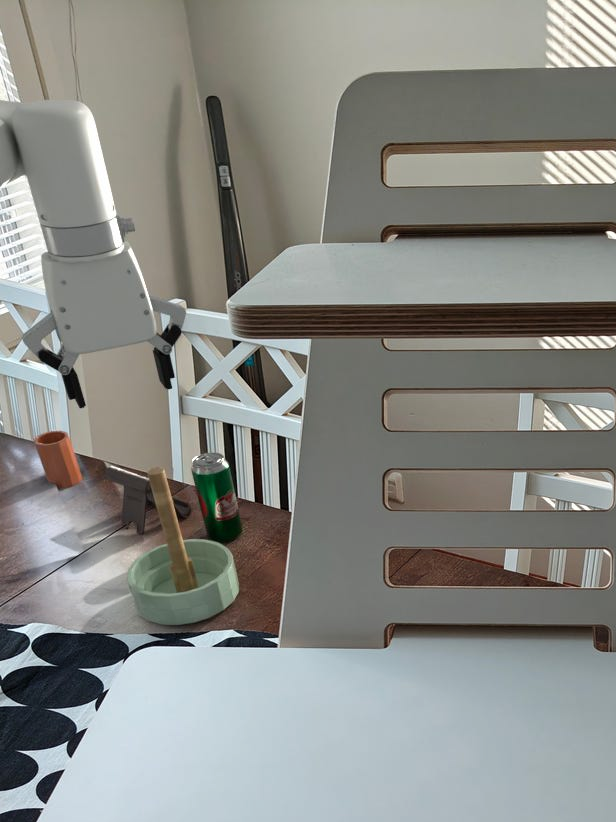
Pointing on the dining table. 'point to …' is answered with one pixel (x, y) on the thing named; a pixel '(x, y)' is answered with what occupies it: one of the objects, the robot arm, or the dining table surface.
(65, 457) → the crock
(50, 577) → the dining table surface
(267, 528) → the dining table surface
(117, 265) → the robot arm
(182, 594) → the bowl
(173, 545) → the wooden dowel rod
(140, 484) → the tablet stand
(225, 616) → the dining table surface
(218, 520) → the soda can
